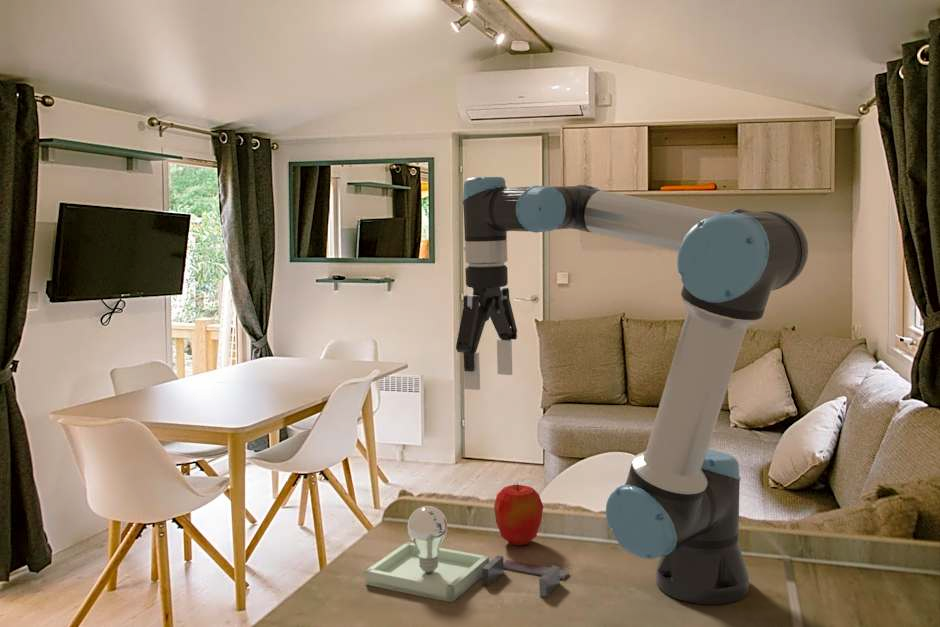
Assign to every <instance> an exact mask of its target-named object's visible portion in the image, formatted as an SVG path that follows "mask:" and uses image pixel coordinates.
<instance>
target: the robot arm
mask: <svg viewBox="0 0 940 627" xmlns="http://www.w3.org/2000/svg"><path fill="white" fill-rule="evenodd" d="M462 194H463V195H462V196H463V197H462V205H463V206H462V208H463V223H464V224H463V226H464V246H463V250H464V255H465V256H464V258H465V263H466V264H468V265H467V266H466V267H465V271H464V272H465V286H466V287H467V288H471V289H472V294H465V295H464V296H463V305H462V306H463V309H462V314H461V320H460V324H459V329H458V330H459V331H458V334H457V340H456V345H455V349H456V351H457V352H458V353H463V355H462V356H463V381H464V382H463V384H464V385H463V388H464V390H474V391H480V390H481V374H480V373H481V370H480V352H479V351H477V350H478V346H479V344H480V340H481V337H482V334H483V331H484V328H485V325H486V322H488V321H489V320H491V323H492V324H493V328H495V331H496V334H497V335H498V338H499V339H496V355H497V358H496V361H497V365H496V366H497V375H501V376H503V375H505V376H512V375H513V345H512V344H513V342H512V340H517V339H518V334H517V333H518V329H517V324H516V321H515V316H514V311H513V308H512V305H511V300H510V299H511V298H510V289H509V287H506V286H508V283H509V282H508V277H509V276H508V274H509V273H508V266H507V265H506V264H505V263H507V262H508V260H509V259H508V240H507V236H508V235H507V233H508V232H532V233H546V232H552V231H555V230H568V229H569V230H570V229H571V230H578V231H583V232H586V233H591V234H592V233H593V234H596V235H601V236H607V237H610V238H615V239H620V240H624V241H628V242H632V243H637V244H641V245H645V246H650V247H654V248H658V249H663V250H667V251H673V252H676V253H677V258H676V259H677V263H676V264H677V266H676V267H677V272H678V274H680V277H681V278H680V281H681V283H682V285H683V286H682V289H681V293H680V299H681V300H682V302H683V303H684V305H685V307H686V310H687V311H686V315H685V318H684V321H683V325H682V327H681V328H682V329H681V331H680V335H679V338H678V341H677V345H676V348H675V351H674V355H673V359H672V362H671V365H670V367H669V368H670V369H669V372H668V375H667V378H666V381H665V385H664V389H663V392H662V395H661V398H660V401H659V405H658V409H657V412H656V416H655V420H654V422H653V426H652V429H651V432H650V435H649V440H648V443H647V446H646V448H645V450H644V451H642V452H639V453H638V454H636V455H634V456H633V458H632V461H631V465H630V468H629V472H628V475H627V478H626V482H625V483H624V485H620V486H618V487H616V488H615V490H614V491H612V493H611V494H609V497H608V498H607V500H606V501H607V502H606V505H605V516H606V521H607V525H608V528H609V529H610V530H611V531H612V535H613V537H614V539H615V540H616V541H617V543H618V544H619V545H620V546H621V547H622V548H623V549H624V550H626V551H627V552H628V553H630V554H631V555H633V556H634V557H638V558H641V559H643V560H644V559H646V560H653V559H657V558H659V559H658V563H657V565H656V570H655V572H656V573H655V578H656V579H655V580H656V581H655V582H656V586H657V587H658V589H659V590H660V591H662V592H663V593H664V594H665V595H666V596H667V595H668V596H669V597H671V598H673V599H677V600H680V601H683V602H687V603H692V604H698V605H723V604H731V603H734V602H737V601H739V600H742V599H743V598H745V597H746V596H747V595H748V594H749V590H750V576H749V575H750V574H749V571H748V568H747V565H746V562H745V560H744V559H745V558H744V557H743V553H742V551H741V550H742V549H741V548H740V547H741V546H740V543H739V542H740V541H739V534H740V533H739V530H740V528H739V527H740V526H739V525H740V486H741V485H740V482H741V476H740V465H739V461H738V460H737V458H735V456H732V455H730V454H728V453H725V452H721V451H718V450H712V449H709V447H710V443H711V440H712V437H713V434H714V430H715V428H716V424H717V421H718V418H719V416H720V412H721V410H722V407H723V403H724V400H725V397H726V395H727V394H726V393H727V391H728V387H729V385H730V381H731V378H732V375H733V372H734V369H735V366H736V363H737V359H738V357H739V355H740V354H739V353H740V351H741V348H742V344H743V341H744V338H745V335H746V332H747V329H748V327H749V326H751V325H753V324H755V323H758V322H759V321H761V320H762V319H763V316H764V313H765V310H766V307H767V303H768V301H769V297H770V295H771V292H772V291H776V290H779V289H782V288H783V287H786V286H788V285H790V284H791V283H792V282H794V281H795V280H796V279H797V278H798V277H799V275H800V274H802V272H803V270H804V268H805V266H806V263H807V262H808V261H807V260H808V255H809V246H808V242H809V241H808V240H807V237H806V235H805V232H804V230H803V229H802V227H801V226H800V225H799V224H798V222H797V221H796V220H795V219H793V218H791V217H790V216H788V215H786V214H784V213H781V212H777V211H773V210H772V211H771V210H770V211H768V210H767V211H765V210H763V211H753V210H747V209H741V208H736V209H735V208H734V209H733V210H731V211H729V212H721V211H720V212H719V211H715V210H714V211H713V210H709V209H704V208H697V207H693V206H686V205H681V204H677V203H676V204H675V203H672V202H665V201H659V200H655V199H648V198H643V197H638V196H634V195H632V196H631V195H627V194H622V193H616V192H610V191H605V190H600V189H599V188H598V187H596V186H592V185H591V186H590V185H583V184H580V185H579V184H578V185H571V186H569V185H567V186H546V185H532V186H519V187H517V186H516V187H507V186H506V180H505V178H504V177H503V176H482V177H481V176H479V177H477V176H475V177H469V178H467V179H465V181H464V183H463V193H462Z"/></svg>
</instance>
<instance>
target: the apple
mask: <svg viewBox="0 0 940 627" xmlns="http://www.w3.org/2000/svg"><path fill="white" fill-rule="evenodd" d="M493 508H494V516H495V523H496V525H497V528H498V531H499V533H500V536H501V537H502V538H503V540H505V541H507V542H508V543H509V544H510V545H515V546H524V545H527V544H528V543H530V542H531V541H533V539H534V538H536V536H537V534H538V532H539V530H540V529H539V528H540V525H541V524H542V519H543V511H544V505H543V502H542V500H541V496H540V493H538V492H537V491H536V489H534V488H533V487H531V486H528V485H522V484H518V482H516V484H512V485H508V486H504V487H503V488H502V489H501V490H499V492H498V493H497V494H496V497H495V501H494V505H493Z"/></svg>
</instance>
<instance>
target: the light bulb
mask: <svg viewBox="0 0 940 627" xmlns="http://www.w3.org/2000/svg"><path fill="white" fill-rule="evenodd" d="M447 532H448V521H447V518H446V516H445V514H444V512H442V511H441V510H440V509H439V508H438V507H435V506H432V505H423V506H419V507H418V508H416V509H414V511H413V512H412V513H411V514H410V516H409V518H408V522H407V534H408V536H409V538H410V540H411V541H412V543H414V544H415V546H416V548H417V553H418V555H419V560H420V561H419V563H420V564H419V566H420V568H421V569H422V570H423V571H424V572H426V573H427V574H430V573H432V572H433V571H434V570H435V569H436V568H437V567H438V557H437V555H438V554H439V549H440V548H441V545H442V543H443V541H444V539H445V537H446V535H447Z"/></svg>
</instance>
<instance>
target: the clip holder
mask: <svg viewBox="0 0 940 627" xmlns="http://www.w3.org/2000/svg"><path fill="white" fill-rule="evenodd" d="M560 568H561V567H560V566H558V565H552V566H551V567H547V566H543V565H537V564H533V563H527V562H521V561H514V560H510V559H505V560H504V556H503V555H496V556H495V557H494V558H492V559H491V560H489V563H488V564H486V565H485V566H484V567H483V568H482V577H481V578H482V579H481V580H482V586H484V587H485V586H486V587H489V586H490V585H492V584H493V583H494V582H495V581H497V579H499V577H500V576H502V575H503V574H504V572H505V570H509V571H515V572H521V573H526V574H529V575H530V574H532V575H535V576H541V577H540V578H539V579H538V580H539V586H538V587H539V597H542V598H548V597H549V595H550V594H551V593H552V592H553V591H554V590H555V589H556V588H557V587H558V586H559V585H560V583H561V581H560V580H565V579H566V578H567V577H568V576H569V575H570V574H569V572H570V571H569V570H566V569H565V570H564V569H560Z"/></svg>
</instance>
